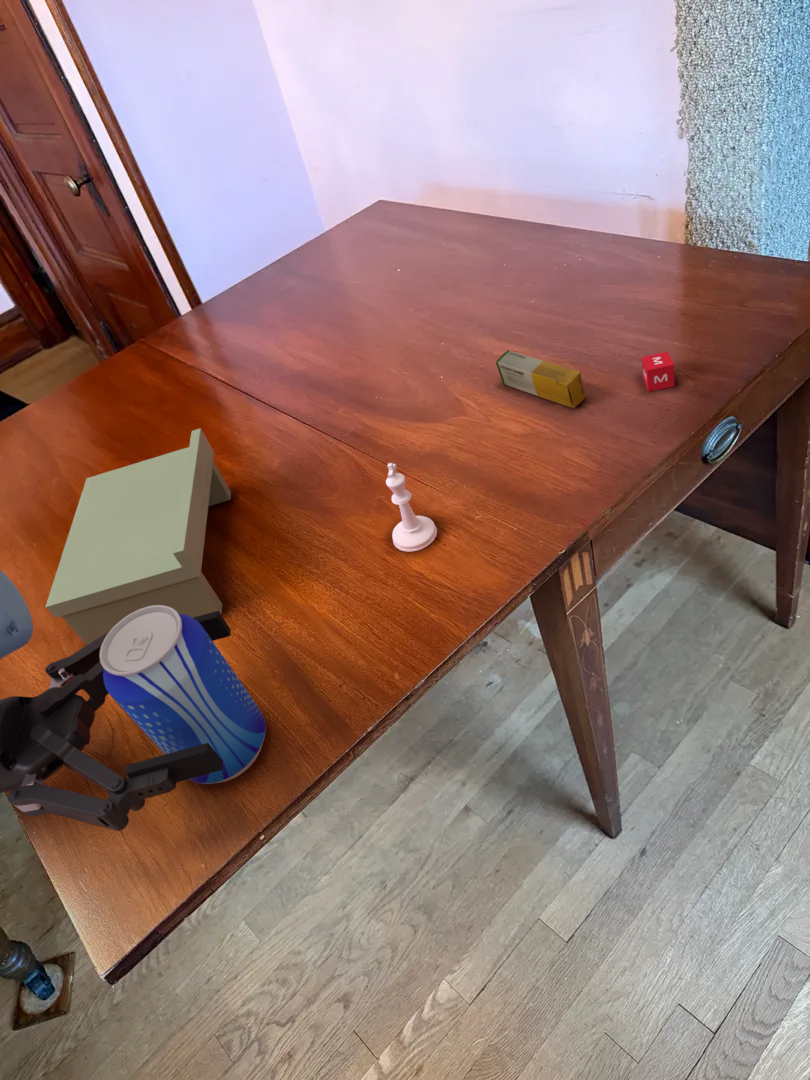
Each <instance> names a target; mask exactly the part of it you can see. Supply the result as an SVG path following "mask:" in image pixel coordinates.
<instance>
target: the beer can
mask: <svg viewBox="0 0 810 1080" xmlns="http://www.w3.org/2000/svg"><path fill="white" fill-rule="evenodd" d="M100 662H101V664H102V666H103V668H104V670H103V679H104V684H105V687H106V689H107V691H108V693H109V694H108V695H110V697H111V698H112V699H113V700H114V701H115V702H116V703H117V704H118V705H119V706H120V708H121V709H122V710H123V711H124V712H125V713H126V714H127V715H128V716H129V717H130V718H131V719H132V720H133V722H134V723H135V724H136V725H137V726H138V727H139V728H140V730H141V731H142V732H144V734H145V735H146V736H147V737H148V738H149V739H150V740H151V741H152V742H153V744H155V746H156V747H158V749H159V750H160V751H161V753H162V754H163V755H165V754H169V753H173V752H176V751H180V750H184V749H187V748H191V747H194V746H198V745H202V744H205V743H208V744H209V745H210V746H211V747H212V748H213V750H214V751H215V752H216V753H217V754H218V756H219V757H220V758H221V759H222V761H223V770H220V771H216V772H213V773H209V774H205V775H202V776H198V777H194V778H190V779H188V781H192V782H194V783H197V784H201V785H211V784H219V783H226V782H229V781H231V780H233V779H235V778H238V777H239V776H241V775H242V774H244V773H245V772H246V771H247V770H249V768H250V767H251V766H252V765H253V764H254V763H255V761H256V760H257V758H258V757H259V754H260V752H261V750H262V747H263V745H264V742H265V741H264V740H265V736H266V731H267V725H266V718H265V716H264V714H263V711H262V710H261V709H260V707H259V706H258V705H257V703H256V701H255V700H254V699H253V697H252V696H251V694H250V693H249V691H248V690H247V688H246V687H245V685H244V684H243V683H242V681H241V680H240V679H239V677H238V676H237V674H236V673H235V671H234V670H233V669H232V667H231V666H230V664H229V663H228V661H227V659H226V658H225V657H224V656H223V654H222V652H221V651H220V650H219V649H218V647H217V646H216V644H215V643H214V641H212V640H211V638H210V637H209V635H208V634H207V633H206V631H205V630H204V628H203V627H202V625H201V624H200V623H199V622H198V621H197V620H195V619H194V618H192V617H190V616H188V615H184V614H180V613H177V612H176V611H175V610H174V609H172V608H171V607H168V606H164V605H154V606H148V607H145V608H142V609H139V610H137V611H135V612H133V613H131V614H129V615H128V616H126V617H125V618H123V619H122V620H121V621H119V622H118V623H117V624H116V625H115V626H114V627H113V628H112V629H111V630H110V632H109V633H108V634H107V636H106V637H105V639H104V641H103V643H102V645H101V649H100Z"/></svg>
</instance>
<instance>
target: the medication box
mask: <svg viewBox="0 0 810 1080" xmlns="http://www.w3.org/2000/svg"><path fill="white" fill-rule="evenodd" d="M495 364H496V366H497V370H498V373H499V376H500V378H501V379H500V380H501V381H502V384H503V386H507V387H511V388H514V389H516V390H519V391H522V392H525V393H527V394H531V395H534V396H537V397H540V398H543V399H546V400H548V401H551V402H555V403H557V404H560V405H562V406H566V407H568V408H571V409H575V408H577V406H578V405H580V404H581V403H582V401H583V400H585V398H586V397H587V394H586V390H585V385H584V382H583V377H582V373H581V371H579V370H576V369H573V368H569V367H566V366H563V365H559V364H557V363H556V364H555V363H552V362H549V361H545V360H542V359H538V358H535V357H532V356H528V355H525V354H522V353H518V352H515V351H512V350H509V349H508V350H506V351H505V352H504V353H503V354H501V355H500V356H499V357H498V358H497V360H496V361H495Z"/></svg>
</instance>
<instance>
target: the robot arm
mask: <svg viewBox="0 0 810 1080" xmlns="http://www.w3.org/2000/svg"><path fill="white" fill-rule="evenodd" d="M194 619H195V620H197V621H198V622H199V623H200V624H201V625H202V627H203V628H204V630H205V631H206V633H207V634H208V635H209V637H210V638H211V640H212V641H213V642H214V641H217V640H220V639H221V640H222V639H224V638H228V637H231V636H232V635H231V632H232V629H231V628H230V626H229V624H228V623H227V622H226V620H225V618H224V617H223V616H222V615H221V614H220V612H219V611H215V612H211V613H208V614H204V615H201V616H197V617H194ZM33 623H34V622H33V619H32V615H31V612H30V609H29V607H28V605H27V603H26V601H25V599H24V597H23V595H22V593H21V592H20V590H19V589H18V588H17V586H16V585H15V583H14V582H13V581H12V579H10V578H9V576H7V574H5V572H4V571H2V570H1V569H0V660H2V659H3V658H6V657H8V656H9V655H10V654H12V653H14V652H16V651H18V650H19V649H21V648H23V647H24V646H26V645H27V644H28V643H29V641H30V640H31V638H32V636H33V634H34V633H33V632H34V624H33ZM109 632H110V631H109ZM109 632H107V633H106V634H104V635H102V636H101V637H99V638H98V639H96V640H95V641H93V642H91V643H90V644H88V645H85V646H83V647H82V648H80V649H79V650H77V651H75V652H74V653H72V654H71V655H69V656H67V657H64V658H61V659H58V660H56V661H53V662H51V663H49V664H48V665H47V666H46V667H45V670H44V672H45V673H46V674H47V675H48V677H50V682H49V683H50V684H49V688H47V689H46V690H45V691H43V692H42V693H39V694H38V695H36V696H21V695H20V696H19V695H13V696H8V697H5V698H1V699H0V794H1V793H5V792H9V791H10V792H9V793H8V795H7V801H8V802H9V803H10V804H12V805H13V806H14V807H15V808H17V809H18V810H19V811H21V812H22V813H23V814H25V815H26V816H27V817H35V816H42V815H48V814H51V815H55V816H58V817H62V818H66V819H69V820H73V821H78V822H81V823H85V824H88V825H93V826H97V827H100V828H104V829H109V830H111V831H116V832H120V831H123V830H124V829H126V827H128V825H129V822H130V819H129V817H128V814H129V813H130V810H131V811H133V812H138V811H140V810H142V808H143V807H144V806H145V804H146V799H150V798H153V797H157V796H160V795H164V794H167V793H171V792H172V791H174V790H175V789H177V783H179V782H183V781H187V780H189V779H190V778H194V777H198V776H202V775H205V774H209V773H213V772H216V771H220V770H223V761H222V759H221V758H220V757H219V756H218V754H217V753H216V752H215V751H214V750H213V748H212V747H211V746H210V745H209V744H208V743H205V744H202V745H198V746H194V747H191V748H187V749H184V750H180V751H176V752H173V753H169V754H162V755H158V756H155V757H151V758H147V759H144V760H141V761H140V760H139V761H137V762H133V763H129V764H127V765H126V768H125V773H124V774H125V775H126V776H127V777H126V778H124V777H123V776H122V775H120V774H118V773H117V772H116V771H114V770H113V769H111V768H109V767H108V766H107V765H104V764H103V763H102V762H99V761H98V760H96V759H95V758H93V757H91V756H90V755H88V754H87V753H85V752H84V751H83V750H84V749H85V747H86V746H88V745H90V740H91V728H92V726H93V723H94V722H95V717H96V711H98V710H99V709H100V708H101V707H102V706H103V705H104V704H105V702H106V697H107V696H108V695H110V694H109V693H108V691H107V689H106V687H105V684H104V679H103V670H104V668H103V666H102V664H101V662H100V649H101V645H102V643H103V641H104V639H105V637H106V636H107V634H108V633H109ZM82 690H83V691H84V692H85V693H86V695H88V700H86V699H85V698H84V697H83V696H81V695H79V694H77V693H78V692H79V691H82ZM63 767H66V768H67V769H69V770H71V771H72V772H74V773H75V774H77V775H78V776H79V777H83V778H84V779H85V780H87V781H89V782H90V783H92V784H93V785H94V786H96V787H98V788H99V789H101V790H102V791H104V792H105V793H106V794H108V797H107V799H104V798H100V797H96V796H93V795H89V794H84V793H81V792H76V791H72V790H67V789H63V788H60V787H55V786H51V785H47V784H46V783H45V781H47V780H49V779H50V778H52V777H53V776H54V775H55V774H56V773H57V772H59V770H61V769H62V768H63Z"/></svg>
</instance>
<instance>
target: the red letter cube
mask: <svg viewBox="0 0 810 1080" xmlns="http://www.w3.org/2000/svg"><path fill="white" fill-rule="evenodd" d="M641 367H642V379H643V383H644V384H645V387H646V389H647V392H654V391H660V390H663V389H668V388H673V387H674V388H675V363H674V361H673V359H672V357H671V355H670V353H669V351H663V352H659V353H655V354H649V355H644V356H641Z"/></svg>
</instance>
